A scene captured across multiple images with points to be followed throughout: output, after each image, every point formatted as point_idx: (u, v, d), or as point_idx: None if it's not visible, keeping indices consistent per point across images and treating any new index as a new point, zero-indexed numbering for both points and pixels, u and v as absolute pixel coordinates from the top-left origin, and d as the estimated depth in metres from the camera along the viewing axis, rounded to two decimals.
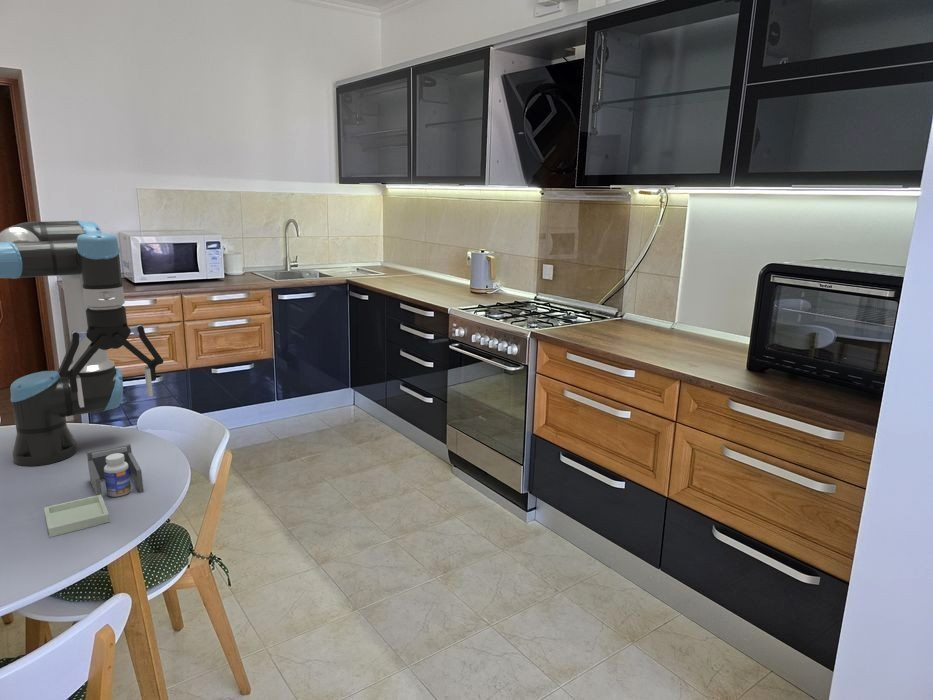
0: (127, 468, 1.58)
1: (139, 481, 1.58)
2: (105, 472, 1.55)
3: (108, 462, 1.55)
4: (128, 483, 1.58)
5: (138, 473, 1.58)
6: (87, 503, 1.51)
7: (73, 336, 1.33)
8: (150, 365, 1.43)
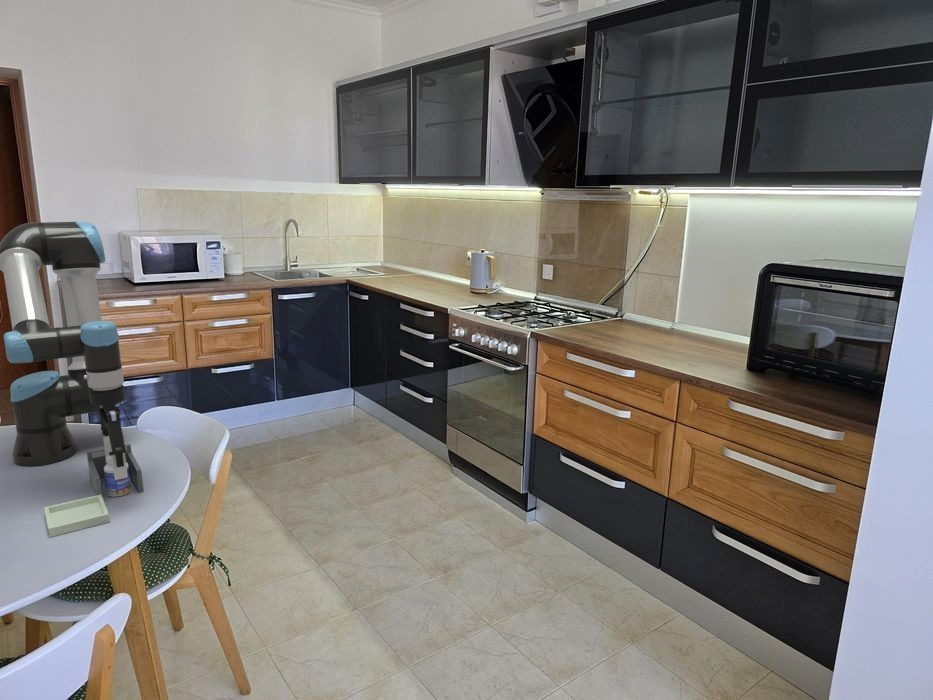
0: (127, 468, 1.58)
1: (139, 481, 1.58)
2: (105, 472, 1.55)
3: (108, 462, 1.55)
4: (128, 483, 1.58)
5: (138, 473, 1.58)
6: (87, 503, 1.51)
7: None
8: (112, 451, 1.49)
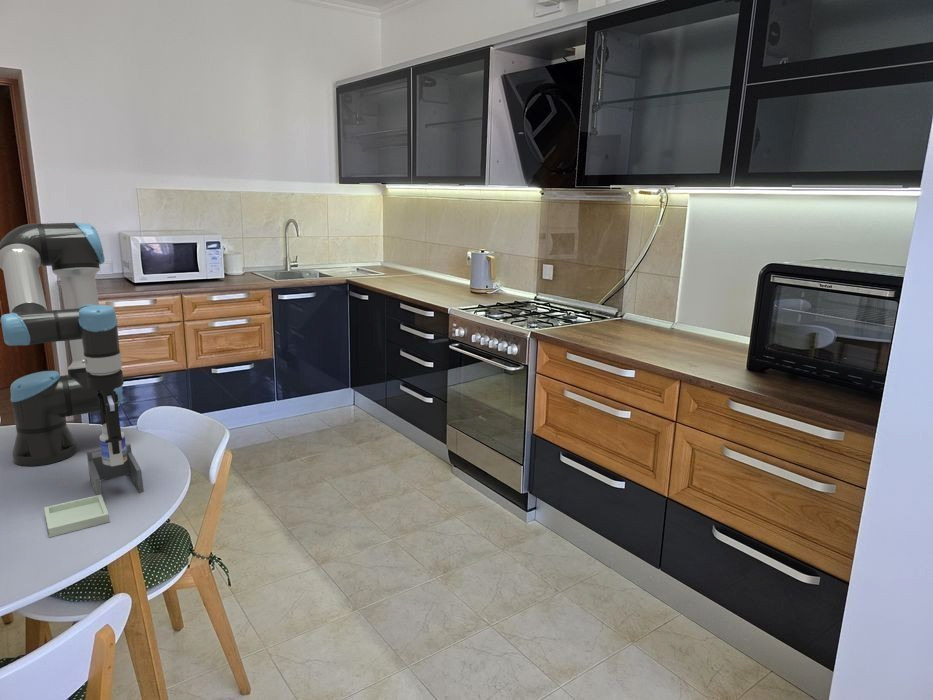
0: (123, 437, 1.56)
1: (139, 481, 1.58)
2: (101, 440, 1.54)
3: (104, 430, 1.53)
4: (124, 452, 1.57)
5: (138, 473, 1.58)
6: (87, 503, 1.51)
7: None
8: (108, 438, 1.52)
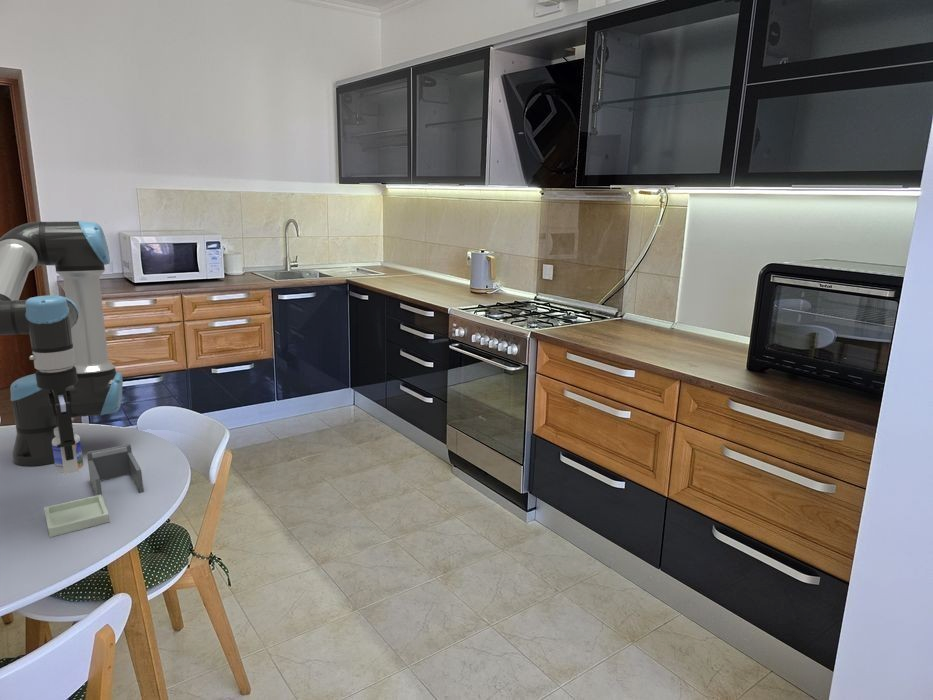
0: (78, 441, 1.42)
1: (139, 481, 1.58)
2: (53, 445, 1.39)
3: (56, 434, 1.39)
4: (79, 458, 1.42)
5: (138, 473, 1.58)
6: (87, 503, 1.51)
7: None
8: None
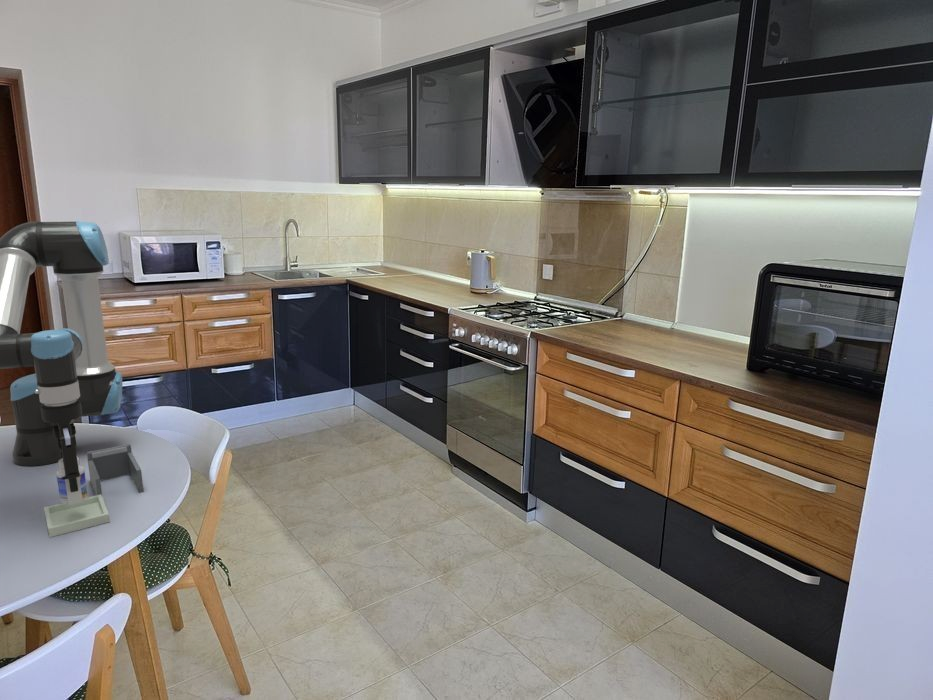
0: (82, 472, 1.43)
1: (139, 481, 1.58)
2: (57, 477, 1.41)
3: (61, 466, 1.41)
4: (84, 489, 1.44)
5: (138, 473, 1.58)
6: (87, 503, 1.51)
7: None
8: (65, 475, 1.39)
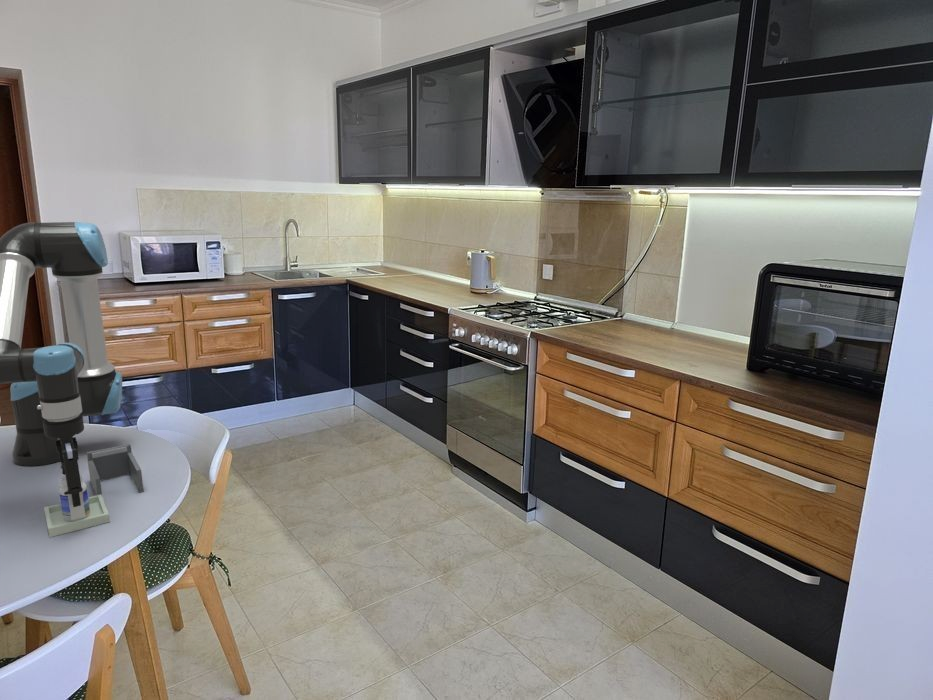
0: (85, 490, 1.45)
1: (139, 481, 1.58)
2: (60, 494, 1.42)
3: (63, 483, 1.42)
4: (86, 506, 1.45)
5: (138, 473, 1.58)
6: None
7: None
8: (67, 490, 1.39)
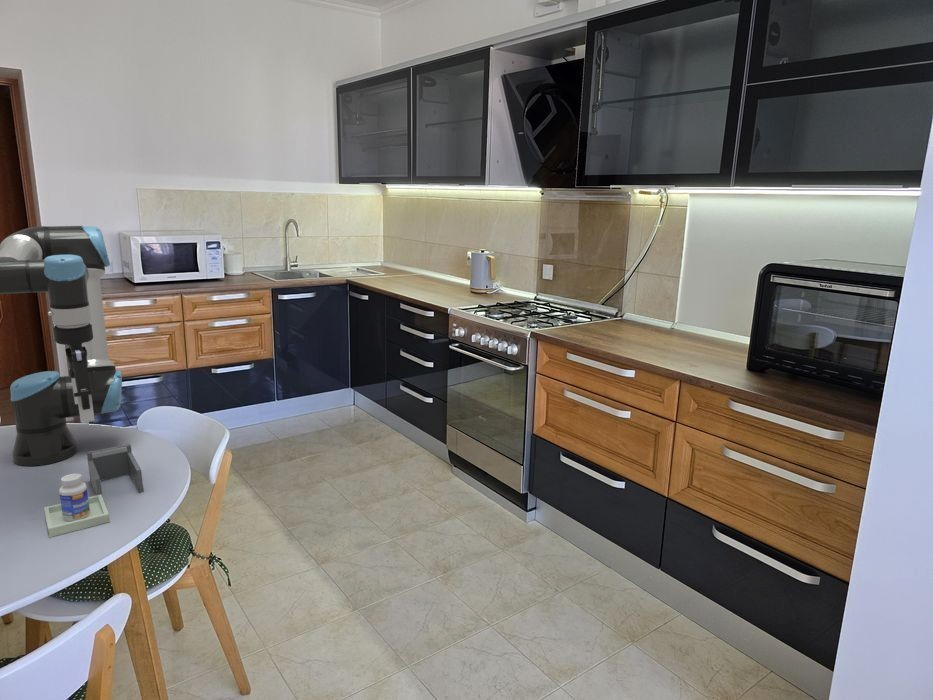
0: (85, 490, 1.45)
1: (139, 481, 1.58)
2: (60, 494, 1.42)
3: (63, 484, 1.42)
4: (86, 506, 1.45)
5: (138, 473, 1.58)
6: None
7: None
8: None
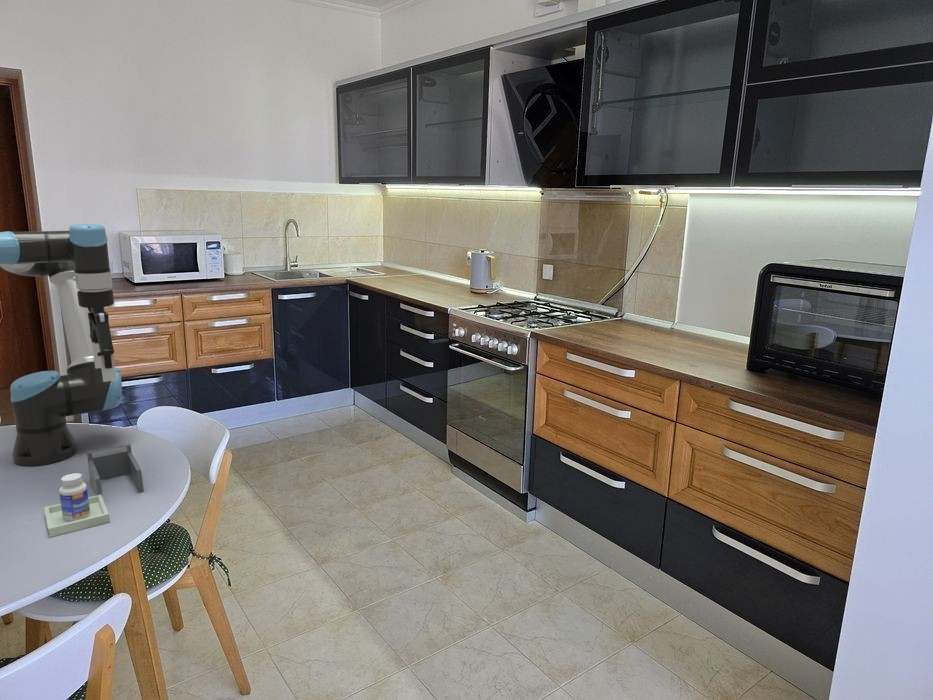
0: (85, 490, 1.45)
1: (139, 481, 1.58)
2: (60, 494, 1.42)
3: (63, 483, 1.42)
4: (86, 506, 1.45)
5: (138, 473, 1.58)
6: None
7: None
8: None
